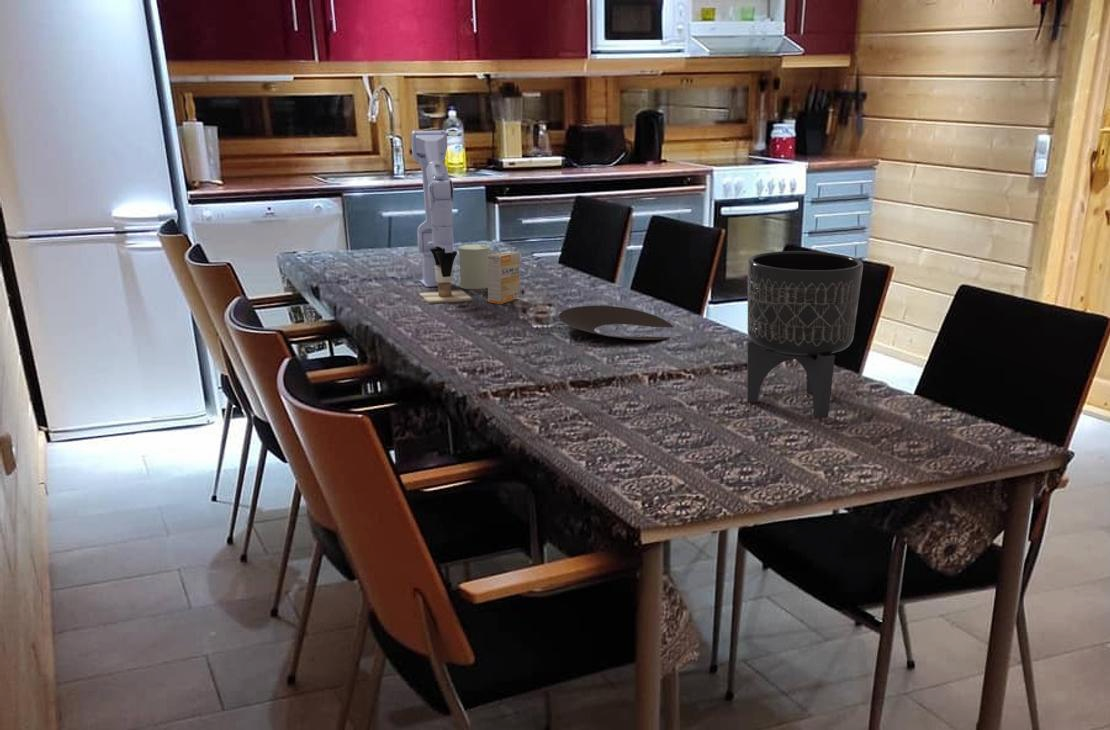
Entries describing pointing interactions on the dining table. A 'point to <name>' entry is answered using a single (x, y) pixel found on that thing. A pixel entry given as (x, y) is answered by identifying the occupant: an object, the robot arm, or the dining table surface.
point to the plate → (610, 319)
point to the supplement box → (503, 277)
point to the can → (474, 266)
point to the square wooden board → (445, 295)
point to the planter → (800, 316)
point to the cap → (439, 275)
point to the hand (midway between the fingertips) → (444, 274)
